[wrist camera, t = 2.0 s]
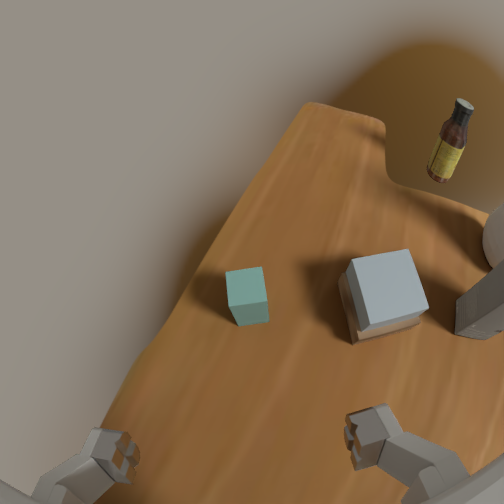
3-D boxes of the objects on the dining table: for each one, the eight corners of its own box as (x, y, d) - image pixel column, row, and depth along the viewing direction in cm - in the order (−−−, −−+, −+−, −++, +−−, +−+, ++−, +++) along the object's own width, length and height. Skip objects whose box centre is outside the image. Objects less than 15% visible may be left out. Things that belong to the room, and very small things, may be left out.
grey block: (416, 317, 34) (429, 308, 31) (361, 332, 35) (370, 324, 31) (398, 261, 39) (408, 248, 35) (345, 272, 39) (351, 259, 36)
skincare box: (452, 335, 35) (514, 299, 22) (454, 295, 39) (508, 249, 25) (487, 341, 34) (547, 309, 20) (487, 304, 37) (541, 263, 23)
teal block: (269, 321, 40) (267, 300, 32) (238, 326, 40) (228, 306, 32) (265, 293, 42) (261, 266, 35) (235, 297, 43) (225, 272, 35)
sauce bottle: (452, 184, 51) (486, 117, 33) (432, 184, 51) (466, 112, 33) (439, 164, 54) (467, 97, 37) (420, 163, 54) (447, 93, 37)
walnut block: (409, 329, 37) (420, 322, 34) (351, 345, 38) (359, 339, 34) (392, 272, 42) (400, 261, 39) (336, 283, 43) (341, 272, 39)
